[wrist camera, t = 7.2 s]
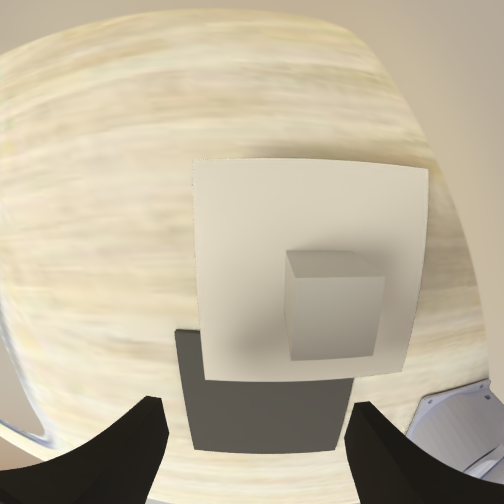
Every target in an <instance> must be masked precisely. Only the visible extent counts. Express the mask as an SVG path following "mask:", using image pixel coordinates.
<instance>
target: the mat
mask: <svg viewBox="0 0 504 504" xmlns="http://www.w3.org/2000/svg"><path fill="white" fill-rule="evenodd" d="M175 340H176V348H177V355H178V362H179V369H180V376H181V382H182V388H183V394H184V400H185V405H186V411H187V416H188V421H189V427H190V431H191V436H192V441H193V446H194V449H195V450H204V451H215V452H228V453H250V454H286V453H307V452H321V451H331V450H335V448H336V444H337V441H338V438H339V434H340V431H341V427H342V423H343V420H344V416H345V412H346V408H347V404H348V400H349V396H350V392H351V387H352V383H353V378H344V379H331V380H315V381H289V382H245V381H219V380H205V374H204V365H203V355H202V345H201V334H200V331H190V330H176V331H175Z"/></svg>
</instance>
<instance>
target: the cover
mask: <svg viewBox="0 0 504 504" xmlns="http://www.w3.org/2000/svg"><path fill="white" fill-rule="evenodd" d="M427 215H428V169H424V168H416V167H409V166H400V165H391V164H381V163H370V162H358V161H344V160H326V159H300V158H231V159H205V160H193V216H194V243H195V264H196V281H197V296H198V310H199V322H200V334H201V345H202V355H203V365H204V374H205V380H219V381H245V382H289V381H315V380H331V379H344V378H355V377H364V376H373V375H381V374H389V373H396V372H402V368H403V365H404V361H405V357H406V353H407V349H408V345H409V341H410V337H411V332H412V328H413V323H414V318H415V313H416V308H417V302H418V297H419V291H420V284H421V277H422V270H423V262H424V253H425V243H426V231H427Z"/></svg>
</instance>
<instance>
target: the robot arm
mask: <svg viewBox="0 0 504 504" xmlns="http://www.w3.org/2000/svg"><path fill="white" fill-rule="evenodd" d="M490 383H491V381H490V380H489V379H487V380H484V381H481V382H477V383H474V384H471V385H468V386H465V387H461V388H458V389H454V390H450V391H447V392H443V393H439V394H435V395H430V396H426V397H424V398H422V400H421V401H420V404H419V406H418V408H417V411H416V413H415V416H414V418H413V420H412V423H411V425H410V427H409V429H408V431H407V434H406V436H405V435H404V434H403V433H402V432H400V431H399V430H398V429H397V428H396V427H395V426H394V425H393V424H392V423H391V422H390V421H389V420H388V419H387V418H386V417H385V416H384V415H383V414H382V413H381V412H380V411H379V410H378V409H377V408H376V407H375V406H374V405H373V404H372V403H371V402H370V401H368V402H359V403H354V407H353V410H352V414H351V417H350V420H349V424H348V427H347V430H346V433H345V436H344V440H345V447H346V453H347V459H348V463H349V466H350V469H351V473H352V476H353V479H354V483H355V486H356V489H357V493H358V496H359V499H360V503H361V504H504V405H503V404H502V403H501V401H500V400H499V399H498V398H497V397H496V396H495V395H494V394H493V393H492V392H491V390H490V389H489V385H490ZM168 436H169V430H168V426H167V422H166V418H165V413H164V409H163V404H162V400H161V398H157V397H151V396H146V397H144V398H143V399H142V400H141V401H140V402H138V403H137V404H136V405H135V406H134V407H133V408H131V409H130V410H129V411H128V412H127V413H126V414H124V415H123V416H122V417H121V418H120V419H118V420H117V421H116V422H115V423H113V424H112V425H111V426H110V427H108V428H107V429H106V430H104V431H103V432H101V433H100V434H99V435H97V436H96V437H94V438H93V439H91V440H90V441H88V442H86V443H85V444H83V445H81V446H80V447H78V448H76V449H74V450H72V451H70V452H68V453H66V454H63V455H61V456H59V457H56V458H54V459H51V460H49V461H46V462H42V463H40V464H36V465H32V466H28V467H23V468H17V469H10V470H2V471H0V504H145V502H146V499H147V496H148V494H149V491H150V489H151V486H152V484H153V481H154V479H155V476H156V474H157V471H158V469H159V466H160V464H161V461H162V458H163V456H164V453H165V449H166V445H167V440H168Z"/></svg>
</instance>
